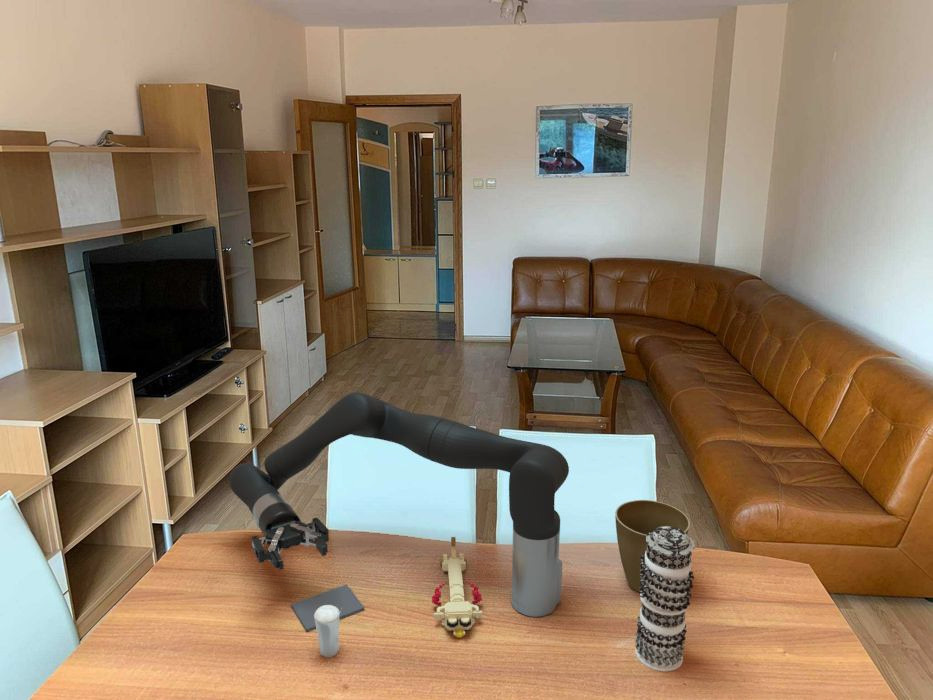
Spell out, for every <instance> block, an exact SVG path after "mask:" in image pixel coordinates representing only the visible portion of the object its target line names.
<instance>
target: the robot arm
mask: <svg viewBox="0 0 933 700" xmlns="http://www.w3.org/2000/svg"><path fill="white" fill-rule="evenodd" d="M349 435H352V436H355V437H361V438H368V439H375V440H376V439H377V440H382V441H386V442H390V443H394V444H398V445H400V446H403V447H405V448H406V449H408V450H409V451H410V452H413V453H414V454H416V455H418V456H420V457H422V458H423V459H426V460H429V461H431V462H434V463H437V464H440V465H443V466H444V467H445V466H446V467H449V468H452V469H457V470H458V469H460V470H498V471H503V472H506V473H509V478H508V498H509V499H508V501H509V503H508V505H509V506H508V507H509V515H510V518H511V520H512V549H511V550H512V555H511V556H512V557H511V595H510V596H511V597H510V598H511V599H510V600H511V601H510V602H511V605H512V607H513V608H514V610H516V611H517V612H518V613H520V614H522V615H525V616H527V617H536V618H537V617H545V616H548V615H549V614H552V613H553V612H554V611H555V610H556V608H557V605H559V604H560V603H561V601H562V599H561V598H562V582H563V581H562V580H563V578H562V577H563V561H562V560H561V559H560V538H561V537H560V535H561V516H560V514H559V513H558V511H556V510H555V498H556V495H555V494H556V493H557V491H558V490H559V489H560V488H561V487H562V486H563V485H564V483H565V481H566V480H567V478H568V477H569V471H570V467H569V463H568V461H567V459H566V458H565V456H564V455H563V454H562V453H561V452H560V451H559V450H557V449H556V448H553V447H552V446H550V445H546V444H543V443H537V442H532V441H526V440H521V439H517V438H511V437H507V436H503V435H499V434H496V433H493V432H490V431H487V430H483V429H480V428H477V427H473V426H470V425H467V424H464V423H462V422H459V421H456V420H455V421H454V420H452V419H449V418H444V417H442V416H438V415H437V416H436V415H433V414H424V413H416V412H411V411H407V410H404V409H402V408H400V407H398V406H395V405H392V404H390V403H388V402H386V401H383V399H380V398H378V397H376V396H374V395H373V396H372V395H369V394H366V393H363V392H357V391H356V392H350V393H348V394H346V395H345V396H342V398H340V399H338V401H336V403H335V404H333V405H332V406H331V407H330V408H329V409H328V410H327V411H326V412H325V413H324V414H323V415H322V416H320V417H319V418H318V419H317V420H315V422H314V423H312V424H311V425H310V426H309V427H307V429H305V430H303V432H301V433H300V434H299V435H297V436H295V437H294V438H293V439H291V440H290V441H288V442H287V443H285V444H284V445H282V446H281V447H279V448H277V449H276V450H274V451H273V452H271V453H270V454H269V455H267V456H266V458H265V459H264V464H263V465H264V469H265V471H266V472H265V471H263V470H262V469H261V468H259V467H257V466H256V465H255V464H252V463H249V462H244V463H240V464H238V465H237V466H235V467H234V468H233V469H232V471H231V473H230V474H229V480H228V484H229V487H230V489H231V491H232V493H234V495H235V496H236V497H238V499H239V500H240V501H241V502H242V503H244V505H246V507H248V509H249V511H250V512H251V514H252V516H253V519H254V520H255V523H256V526H257V528H258V529H259V530H260V531H261V533H262V535H263V536H262V537H259V536H258V535H253V536H251V545H252V547H251V548H252V550H253V553H254V554H255V558H256V559H257V562H258V563H260V564H262V563H264V562H266V561H269V562H270V563H271V565H272V566H273V568H274V569H276V570H277V569H278V571H282V570H284V562H283V561H284V560H283V558H282V556H281V552H282V551H283V549H284V550H286V549H287V550H288V549H290V548H292V547H297V546H300V545H301V546H305V547H310V546H314V547H315V548H316V550H317V552H319V554H320V555H321V557H324V556H327V553H328V552H329V551H328V542H329V541H330V537H329V536H330V535H329V530H330V529H329V528H327V526H326V525H325V524H324V523H323V522H322V521H321V520H320V519H319V518H318V517H313V518H312V520H311V521H310V522H309V523H305V522H303V521H302V520H301V519H300V517H299V516H298V514H297V512H296V511H295V510H294V509H293V507H292V506H291V505H290V503H289V501H287V500H286V499H285V498H284V497H283V496H282V495H281V493H280V491H279V489H280V488H281V487H282V486H284V484H285V483H287V481H288V480H289V479H292V478H293V477H294V476H295V475H298V474H300V472H302V471H304V470H305V469H306V468H308V467H310V465H312V463H314V462H315V460H317V458H318V457H319V456H320V455H321V453H322V451H324V449H326V448H327V447H328V446H329V445H331V444H333V443H334V442H336V441H338V440H339V439H342V438H344V437H347V436H349ZM313 538H314V539H313ZM265 544H266V545H268V549H265V548H264V546H265Z"/></svg>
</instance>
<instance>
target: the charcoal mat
mask: <svg viewBox="0 0 933 700" xmlns="http://www.w3.org/2000/svg"><path fill="white" fill-rule="evenodd" d="M323 605H332V606H335V607H337V608H338V609H339V612H340V611H341V612H340V616H339V621H340V620H342V619H345V618H348V617H350V616H353V615H355V614H357V613H360V612H364V611H365V606H364V605H363V604H362V602H361V601H360V600H359V599H358V597H357V596H356V595H355V593H354V592H353V591H352V589H351V588H350V587H349V585H348V584H343V585H341V586H337V587H335V588H332V589H328V590H326V591H324V592H321V593H318V594H315V595H312V596H309V597H306V598H304V599H301V600H299V601H296V602H293V603H291V604H290V607H291V609H292V610H293V612H294V614H295V615H296V617H297V619H298V620H299V622H300V623H301V626H302V627H303V628H304V629H305V632H306V633H308V632H310V631H313V630H317V629H316V625H315V620H314V614H315V612H316V610H317V609H318V608H319V607H321V606H323ZM342 606H343V608H342ZM341 609H342V610H341Z"/></svg>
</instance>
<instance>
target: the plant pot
mask: <svg viewBox="0 0 933 700" xmlns="http://www.w3.org/2000/svg"><path fill="white" fill-rule="evenodd" d="M614 513H615V516H614V517H615V519H614V520H615V528H616V529H615V531H616V540H617V545H618V551H619V556H620V557H619V558H620V560H621V565H622V569H623V573H624V576H625V579H626V581H627V584H628V586H629V587H630V588H631V589H632V590H634V591H636V592H637V593H640V591H641V590H640V586H641V585H640V580H641V577H640V574H641V572H640V569H641V567H640V564H641V562H642V561H641V556H643V553H644V552H645V551H646V550H647V542H646V536H647V535H648V534H649V532H652V531H654V530H655V529H657V528H659V527H664V526H669V527H675V528H678V529H680V530H682V531H684V532H685V533H686V534H687V535H688V533H689V531H690V527H691V523H690V518H688V516H687V514H685V513H684V512H683V511H681V510H680V509H679V508H677V507H675V506H672V505H671V504H668V503H665V502H661V501H657V500H652V499H651V500H650V499H638V500H629V501H626V502H623V503H622V504H620V505H618V507H616V509H615V512H614Z"/></svg>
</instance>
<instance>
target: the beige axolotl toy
mask: <svg viewBox="0 0 933 700" xmlns="http://www.w3.org/2000/svg"><path fill="white" fill-rule="evenodd" d="M456 539H457V538H456V536H451V539H450V547H451V549H450V551H451V553H450V554H451V556H450V557H448V554H447V553H443V554H442V558H441V559H440V560H439V561H440V562H439V563H440V566H441V568H442V571H443V572H447V574H448V575H447V576H448V582H447V581H445V582H442V583H441V584H438V587H435V589H434V594H433V595H432V596H431V603H432V604H433V605H436V606H438V607H436V612H433V619H434V620H435V619H436V620H437V621H441V626H443V627H444V629H446V630H447V631H453V636H454V637H456V638H462V637H464V636H465V635H466V631H465V630H470V629H471V628H472V627H473V625H474V624H475V619H480V618H482V617H483V611H482V610H480V608H479V605H477V604H479V603H481V602H482V601H483V597H482V593H481V592H480V591H479V587H478V585H474V584H475V583H474V582H471V581H468V580H466V581H465V582H466V584H469V585H470V587H471V588H473V589H472V591H471V592H472V593H471V595H472V597H473V600H472V601H471V602H470V601H468V600H466V601H465V593H464V592H465V591H464V583H463V582H464V581H463V573H462V572H464V571H465V570H466V569H467V558H465V555H464V552H463V553H459V554H458V555H459V557H458V556H457V551H456V548H457V547H456V545H457V542H456ZM447 583H448V587H449V600H450V601H447V602H446V603H445V604H444V605H442V602H441V601H440V598H442V592H441V591H440V590H441V589H443V586H444V585H447ZM441 619H442V620H441Z"/></svg>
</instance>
